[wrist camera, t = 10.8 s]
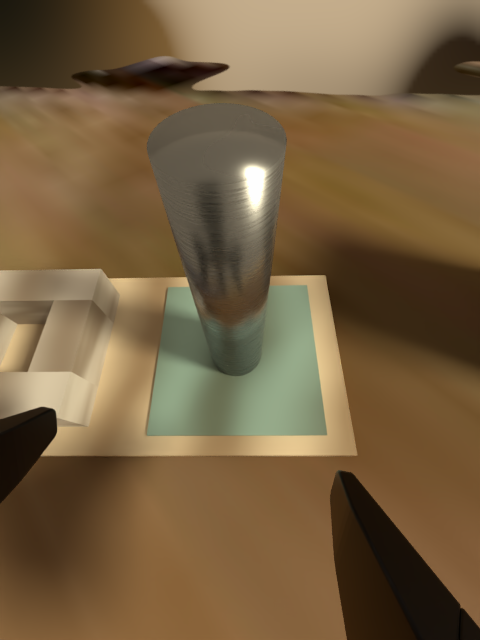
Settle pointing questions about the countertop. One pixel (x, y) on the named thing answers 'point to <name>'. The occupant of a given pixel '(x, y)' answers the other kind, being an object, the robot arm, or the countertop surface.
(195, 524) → the countertop surface
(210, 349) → the key rod
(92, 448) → the board
